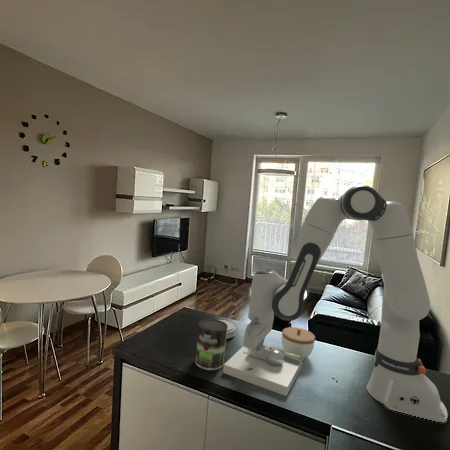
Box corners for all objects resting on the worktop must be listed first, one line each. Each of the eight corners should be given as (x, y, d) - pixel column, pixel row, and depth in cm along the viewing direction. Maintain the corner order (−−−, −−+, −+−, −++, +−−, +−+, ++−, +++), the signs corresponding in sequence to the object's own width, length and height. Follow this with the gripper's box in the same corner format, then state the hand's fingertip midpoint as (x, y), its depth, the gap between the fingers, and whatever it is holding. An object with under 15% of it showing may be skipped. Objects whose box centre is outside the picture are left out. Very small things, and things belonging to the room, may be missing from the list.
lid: (227, 343, 129) (228, 332, 129) (200, 335, 135) (202, 324, 134) (239, 333, 141) (240, 322, 141) (214, 325, 146) (215, 315, 146)
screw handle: (285, 360, 113) (286, 349, 112) (280, 368, 107) (281, 356, 107) (251, 350, 118) (252, 339, 118) (245, 356, 113) (246, 345, 113)
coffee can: (217, 373, 106) (221, 333, 105) (190, 365, 110) (193, 326, 109) (227, 360, 116) (231, 322, 115) (202, 352, 119) (205, 316, 118)
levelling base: (301, 368, 115) (303, 353, 115) (286, 396, 97) (288, 379, 97) (246, 350, 125) (247, 337, 125) (223, 372, 107) (224, 357, 107)
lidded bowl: (282, 345, 132) (285, 320, 131) (313, 353, 128) (316, 327, 127) (277, 359, 120) (280, 331, 119) (311, 367, 116) (314, 339, 115)
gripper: (258, 325, 102) (254, 366, 104) (277, 308, 121) (273, 343, 122) (241, 320, 105) (236, 360, 106) (262, 304, 124) (258, 338, 125)
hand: (256, 351), depth 114 cm, fingers open, 5 cm apart
